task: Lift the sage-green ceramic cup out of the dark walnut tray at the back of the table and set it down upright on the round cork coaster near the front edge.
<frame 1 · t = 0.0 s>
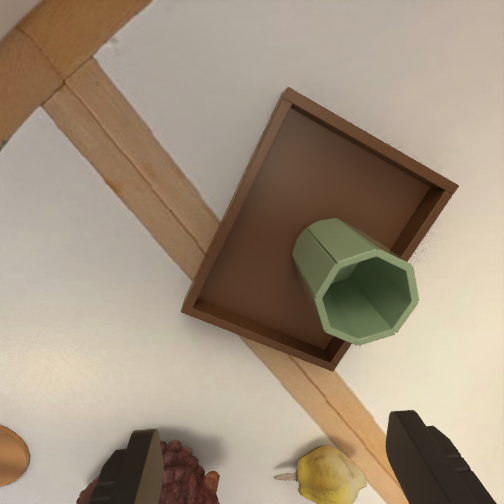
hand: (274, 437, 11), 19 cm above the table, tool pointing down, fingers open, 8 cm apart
cup: (327, 253, 29), point 1 cm above the table, touching tray
pine cone: (155, 457, 37), on the table
tray: (307, 242, 29), on the table
fruit 2: (313, 457, 38), on the table
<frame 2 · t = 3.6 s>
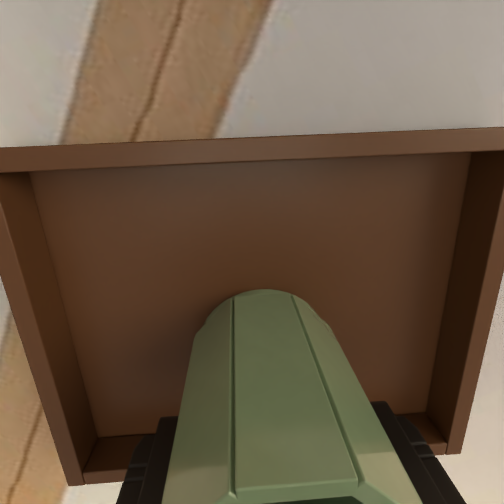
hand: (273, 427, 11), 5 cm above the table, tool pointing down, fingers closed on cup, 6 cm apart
cup: (262, 346, 16), point 1 cm above the table, touching gripper, tray
tray: (260, 305, 16), on the table
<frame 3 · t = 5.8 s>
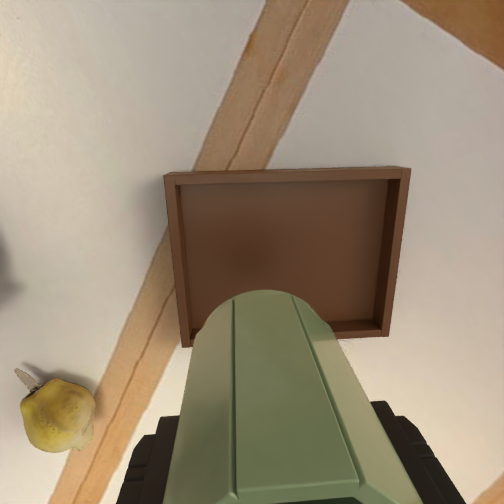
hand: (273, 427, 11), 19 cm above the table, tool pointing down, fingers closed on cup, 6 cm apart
cup: (263, 347, 16), point 15 cm above the table, touching gripper
tray: (283, 254, 30), on the table
fruit 2: (64, 389, 34), on the table
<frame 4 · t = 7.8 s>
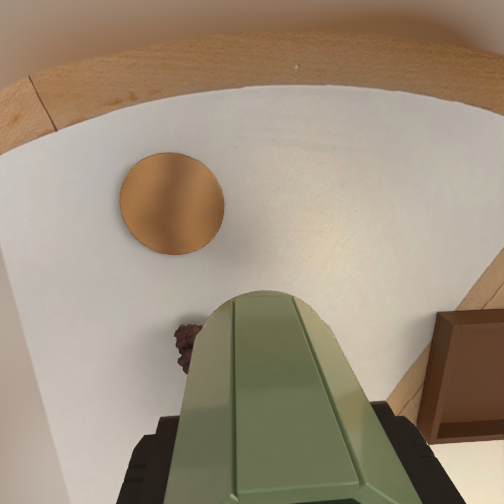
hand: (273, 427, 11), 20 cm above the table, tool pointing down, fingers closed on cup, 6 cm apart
cup: (263, 348, 16), point 15 cm above the table, touching gripper
pine cone: (246, 359, 35), on the table
coaster: (173, 205, 29), on the table
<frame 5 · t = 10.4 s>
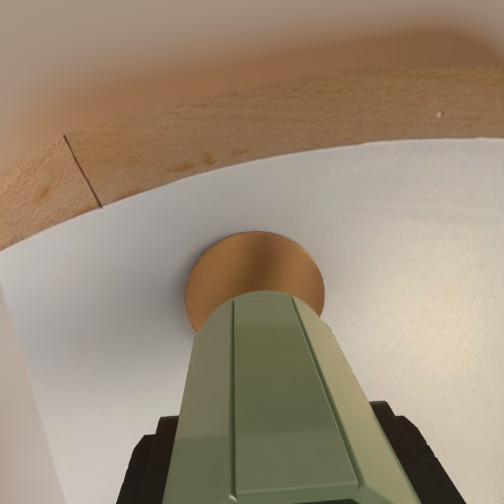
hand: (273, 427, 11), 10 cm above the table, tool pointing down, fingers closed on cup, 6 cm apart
cup: (262, 348, 16), point 6 cm above the table, touching gripper
coaster: (255, 297, 21), on the table
when the fingers open (5 cm above the table, at t = 12.2 s): cup stays where it is, resting on coaster.
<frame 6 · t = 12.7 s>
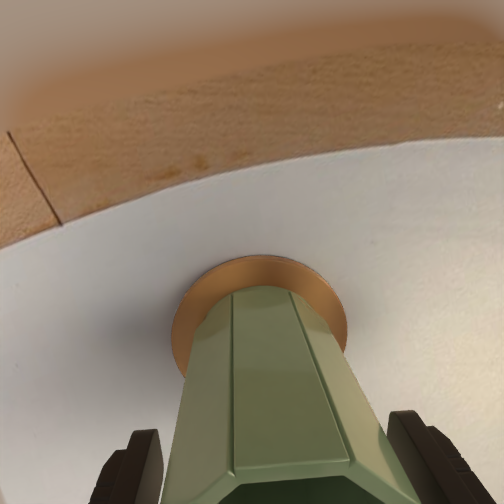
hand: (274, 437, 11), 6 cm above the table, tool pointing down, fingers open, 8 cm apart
cup: (261, 342, 16), point 1 cm above the table, touching coaster
coaster: (259, 335, 17), on the table
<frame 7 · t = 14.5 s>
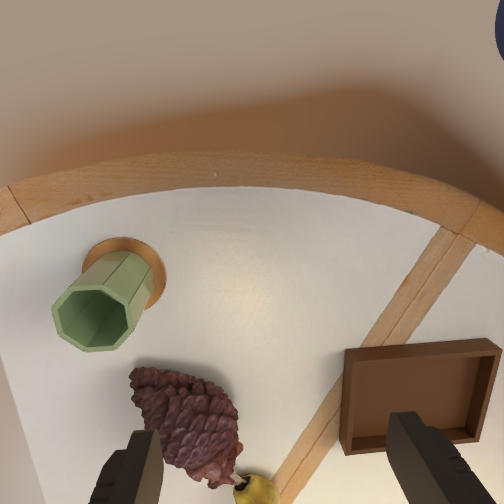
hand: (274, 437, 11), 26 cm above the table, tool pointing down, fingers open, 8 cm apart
cup: (124, 277, 36), point 1 cm above the table, touching coaster
pine cone: (193, 391, 42), on the table
coaster: (125, 275, 36), on the table
tray: (409, 390, 45), on the table
fruit 2: (250, 478, 48), on the table
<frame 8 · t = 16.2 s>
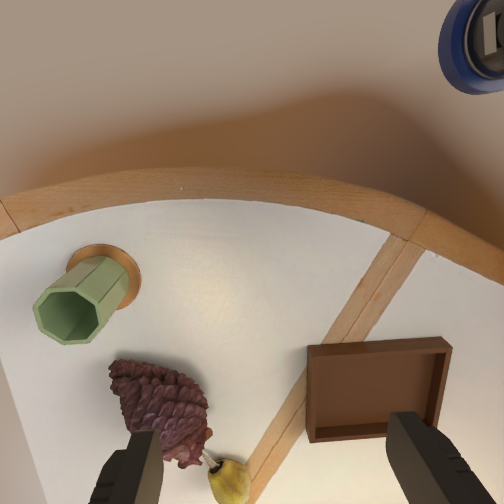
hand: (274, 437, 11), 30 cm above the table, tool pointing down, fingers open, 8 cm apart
cup: (103, 279, 40), point 1 cm above the table, touching coaster
pine cone: (169, 381, 47), on the table
coaster: (105, 277, 41), on the table
tray: (370, 384, 49), on the table
fruit 2: (225, 463, 53), on the table
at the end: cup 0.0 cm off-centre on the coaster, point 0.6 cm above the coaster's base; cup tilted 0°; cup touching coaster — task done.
